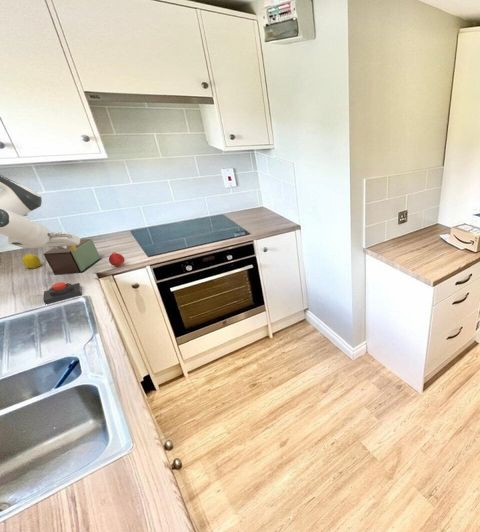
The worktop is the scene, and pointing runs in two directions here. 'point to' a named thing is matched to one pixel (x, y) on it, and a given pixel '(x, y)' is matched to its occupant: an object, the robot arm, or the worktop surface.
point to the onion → (116, 259)
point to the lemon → (31, 261)
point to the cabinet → (64, 260)
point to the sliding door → (85, 254)
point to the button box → (62, 293)
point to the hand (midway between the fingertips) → (62, 247)
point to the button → (59, 286)
